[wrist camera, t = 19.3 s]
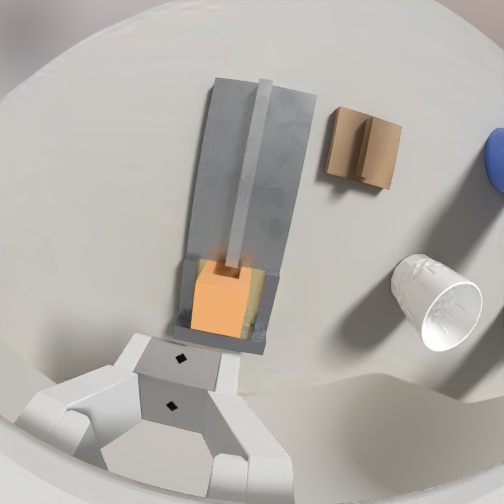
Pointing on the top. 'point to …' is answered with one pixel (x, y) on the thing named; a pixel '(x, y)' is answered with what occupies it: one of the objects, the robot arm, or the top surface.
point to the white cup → (436, 301)
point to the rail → (245, 199)
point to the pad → (363, 148)
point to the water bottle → (495, 158)
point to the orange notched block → (220, 301)
